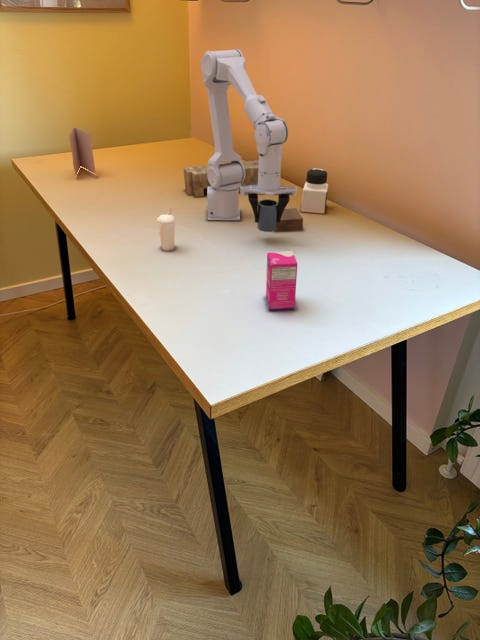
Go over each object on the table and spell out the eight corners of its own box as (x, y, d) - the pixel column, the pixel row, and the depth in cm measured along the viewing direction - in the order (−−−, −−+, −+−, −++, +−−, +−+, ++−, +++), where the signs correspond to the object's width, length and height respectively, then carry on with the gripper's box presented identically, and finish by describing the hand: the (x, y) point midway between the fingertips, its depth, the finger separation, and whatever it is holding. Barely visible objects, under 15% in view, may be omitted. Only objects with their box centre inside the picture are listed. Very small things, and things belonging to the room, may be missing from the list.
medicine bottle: (324, 214, 157) (328, 175, 151) (301, 212, 158) (304, 173, 152) (326, 205, 163) (330, 167, 156) (303, 203, 164) (306, 165, 158)
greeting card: (78, 170, 189) (71, 127, 181) (99, 169, 190) (93, 127, 182) (73, 180, 180) (66, 135, 172) (95, 179, 181) (89, 135, 172)
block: (274, 231, 146) (275, 220, 144) (268, 220, 152) (269, 209, 150) (302, 230, 147) (303, 218, 145) (295, 219, 154) (296, 208, 152)
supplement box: (264, 297, 116) (266, 251, 110) (290, 296, 116) (294, 250, 110) (267, 311, 111) (270, 263, 105) (295, 310, 112) (299, 262, 105)
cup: (257, 231, 137) (258, 206, 133) (256, 223, 141) (257, 199, 138) (277, 232, 137) (279, 206, 133) (276, 223, 142) (277, 199, 138)
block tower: (191, 200, 168) (274, 188, 175) (189, 174, 163) (275, 163, 171) (185, 192, 174) (266, 180, 182) (183, 167, 169) (266, 156, 177)
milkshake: (181, 244, 138) (179, 208, 133) (172, 253, 134) (170, 216, 128) (165, 242, 139) (163, 206, 134) (156, 250, 135) (153, 214, 130)
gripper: (241, 175, 127) (240, 226, 135) (300, 176, 128) (295, 227, 135) (240, 166, 133) (239, 216, 141) (297, 167, 133) (293, 216, 141)
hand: (267, 221), depth 138 cm, fingers closed on cup, 5 cm apart
